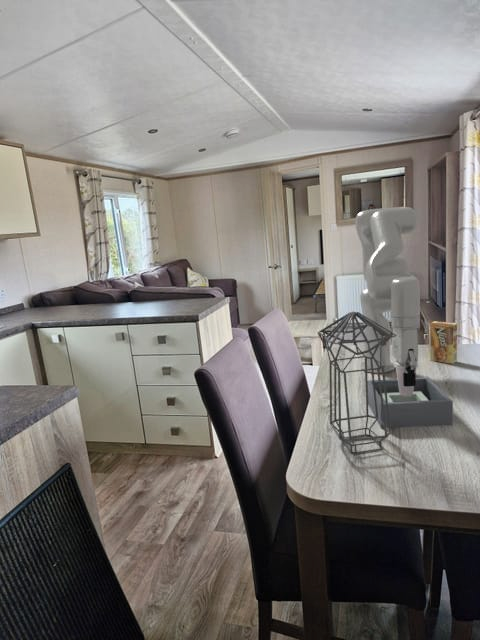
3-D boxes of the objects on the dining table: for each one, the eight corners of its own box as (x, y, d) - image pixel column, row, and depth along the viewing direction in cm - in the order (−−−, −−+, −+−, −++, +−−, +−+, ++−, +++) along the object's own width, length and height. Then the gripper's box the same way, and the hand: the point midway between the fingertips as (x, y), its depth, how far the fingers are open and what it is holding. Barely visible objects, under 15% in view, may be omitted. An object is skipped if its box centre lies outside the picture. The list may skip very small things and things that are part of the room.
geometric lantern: (340, 463, 105) (331, 321, 99) (323, 435, 121) (314, 310, 114) (404, 454, 106) (398, 313, 100) (378, 427, 121) (372, 303, 115)
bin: (366, 401, 139) (366, 380, 138) (428, 398, 137) (428, 377, 136) (381, 428, 121) (380, 404, 119) (452, 425, 119) (452, 401, 117)
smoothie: (419, 398, 124) (420, 350, 121) (396, 398, 125) (395, 351, 122) (415, 389, 130) (415, 344, 127) (393, 389, 132) (392, 345, 129)
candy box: (457, 361, 169) (457, 322, 165) (452, 364, 166) (453, 325, 163) (434, 358, 175) (434, 320, 172) (429, 360, 172) (429, 323, 169)
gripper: (384, 316, 132) (385, 372, 136) (400, 329, 115) (401, 393, 119) (409, 314, 131) (410, 371, 135) (429, 327, 115) (429, 392, 118)
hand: (405, 381), depth 127 cm, fingers closed on smoothie, 6 cm apart
